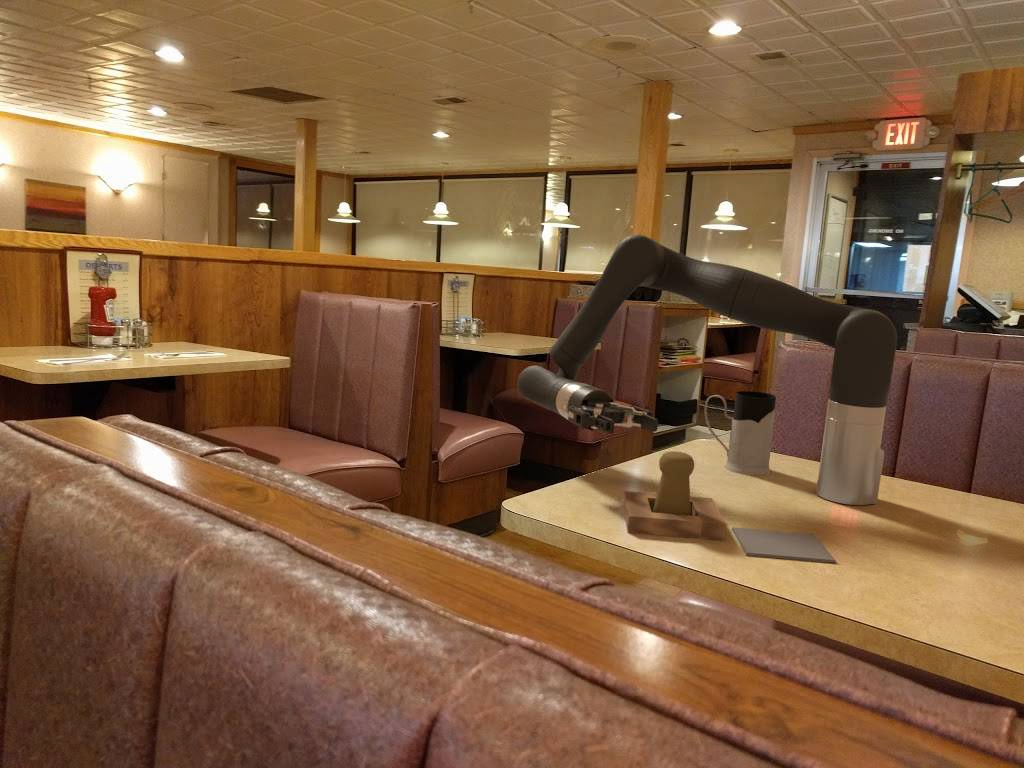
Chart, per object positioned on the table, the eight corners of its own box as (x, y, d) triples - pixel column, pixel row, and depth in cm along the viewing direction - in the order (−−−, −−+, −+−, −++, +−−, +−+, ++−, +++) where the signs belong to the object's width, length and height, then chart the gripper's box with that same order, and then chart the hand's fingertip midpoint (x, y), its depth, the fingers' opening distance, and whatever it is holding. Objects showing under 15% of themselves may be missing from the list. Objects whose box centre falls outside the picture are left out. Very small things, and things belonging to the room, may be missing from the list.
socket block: (710, 513, 121) (711, 498, 121) (724, 540, 109) (726, 524, 109) (622, 505, 122) (623, 491, 122) (627, 532, 110) (629, 516, 110)
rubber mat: (812, 536, 113) (813, 534, 113) (835, 563, 103) (835, 560, 103) (731, 529, 114) (732, 527, 114) (746, 555, 104) (746, 552, 104)
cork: (691, 531, 112) (698, 460, 110) (650, 526, 113) (657, 455, 112) (690, 518, 118) (697, 450, 116) (651, 513, 119) (657, 446, 117)
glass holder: (763, 478, 144) (773, 400, 141) (691, 463, 151) (699, 389, 149) (775, 468, 151) (784, 395, 148) (706, 455, 158) (713, 384, 156)
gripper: (551, 385, 134) (599, 405, 120) (619, 384, 140) (672, 403, 126) (548, 426, 136) (595, 450, 121) (615, 424, 142) (667, 446, 127)
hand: (634, 426), depth 124 cm, fingers open, 8 cm apart
